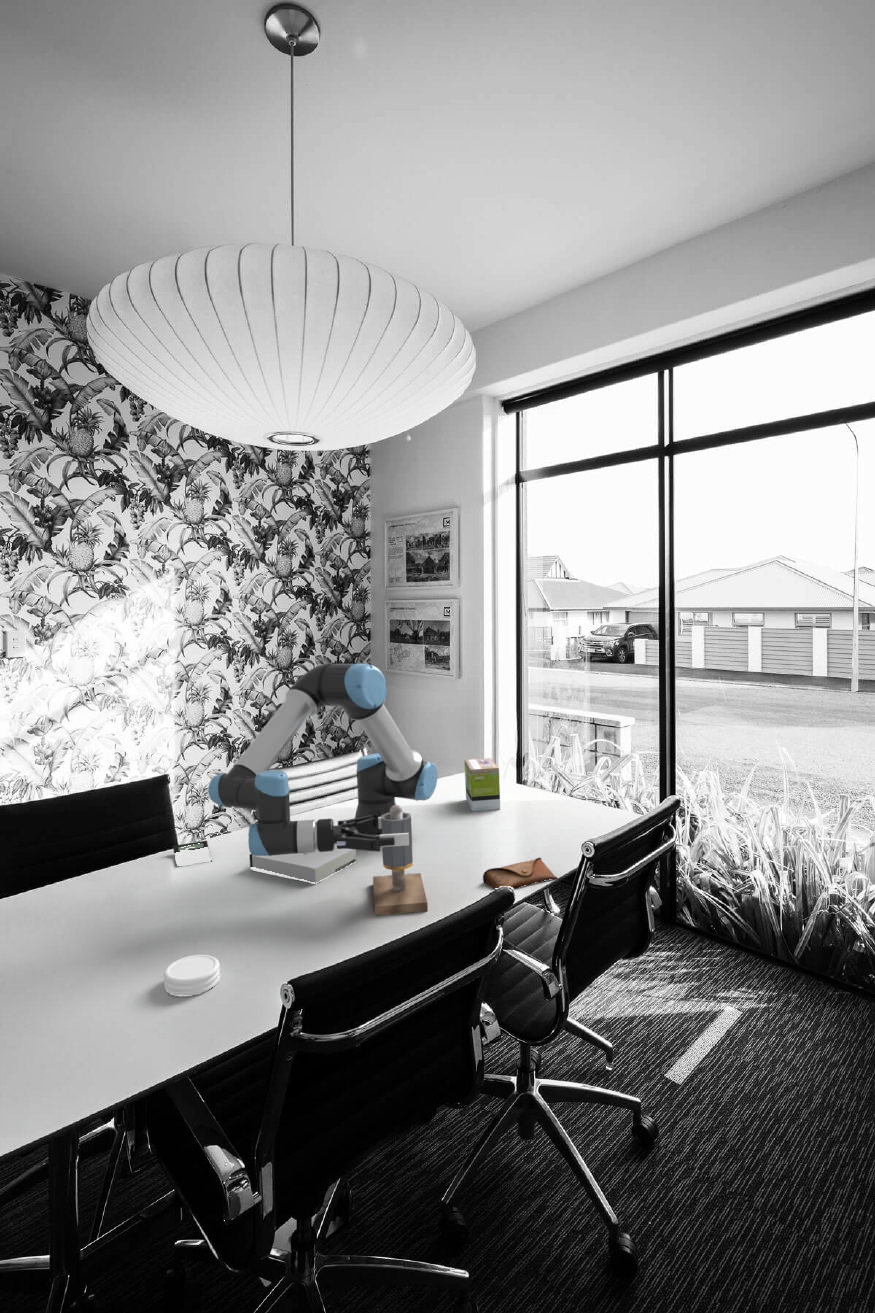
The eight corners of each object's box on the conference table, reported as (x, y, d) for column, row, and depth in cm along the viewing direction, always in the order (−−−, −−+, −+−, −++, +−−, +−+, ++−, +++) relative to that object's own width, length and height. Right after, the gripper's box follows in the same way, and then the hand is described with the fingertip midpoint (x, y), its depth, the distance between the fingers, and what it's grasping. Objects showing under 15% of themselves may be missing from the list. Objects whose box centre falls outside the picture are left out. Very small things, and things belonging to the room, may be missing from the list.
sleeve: (383, 867, 168) (381, 821, 167) (382, 857, 175) (380, 813, 174) (413, 865, 169) (411, 819, 168) (411, 855, 176) (409, 811, 175)
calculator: (176, 868, 197) (176, 857, 197) (173, 855, 207) (173, 845, 207) (212, 862, 201) (211, 852, 200) (207, 850, 211) (206, 840, 211)
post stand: (375, 915, 163) (371, 818, 161) (373, 884, 181) (369, 796, 179) (427, 911, 164) (424, 814, 162) (420, 880, 182) (417, 793, 180)
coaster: (181, 1005, 129) (180, 986, 128) (154, 986, 135) (153, 968, 135) (230, 982, 136) (229, 964, 136) (202, 965, 143) (201, 948, 142)
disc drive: (294, 852, 208) (293, 835, 207) (356, 864, 196) (356, 846, 196) (250, 872, 193) (249, 854, 192) (315, 887, 181) (314, 868, 181)
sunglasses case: (501, 893, 172) (492, 866, 175) (488, 899, 178) (480, 872, 180) (560, 877, 181) (551, 851, 183) (546, 884, 186) (537, 858, 189)
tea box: (465, 799, 255) (463, 758, 254) (492, 798, 256) (491, 757, 255) (471, 812, 240) (470, 768, 239) (501, 810, 241) (500, 766, 240)
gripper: (320, 834, 182) (403, 829, 184) (314, 870, 157) (411, 863, 159) (318, 805, 181) (402, 800, 183) (313, 837, 156) (410, 830, 159)
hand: (406, 829), depth 171 cm, fingers open, 13 cm apart
